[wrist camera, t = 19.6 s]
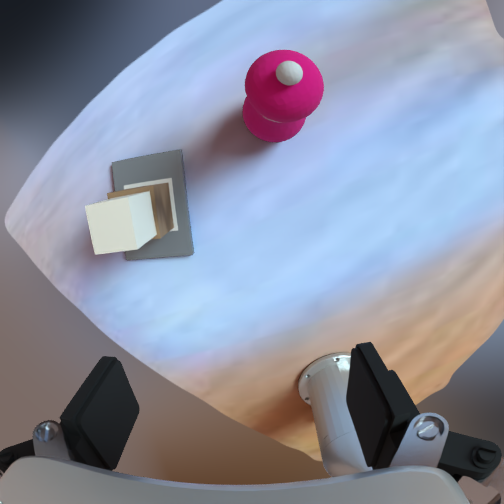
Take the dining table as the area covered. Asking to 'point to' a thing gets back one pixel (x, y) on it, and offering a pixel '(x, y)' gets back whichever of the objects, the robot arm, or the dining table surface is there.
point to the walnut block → (154, 205)
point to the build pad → (170, 171)
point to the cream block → (121, 223)
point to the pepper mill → (281, 94)
